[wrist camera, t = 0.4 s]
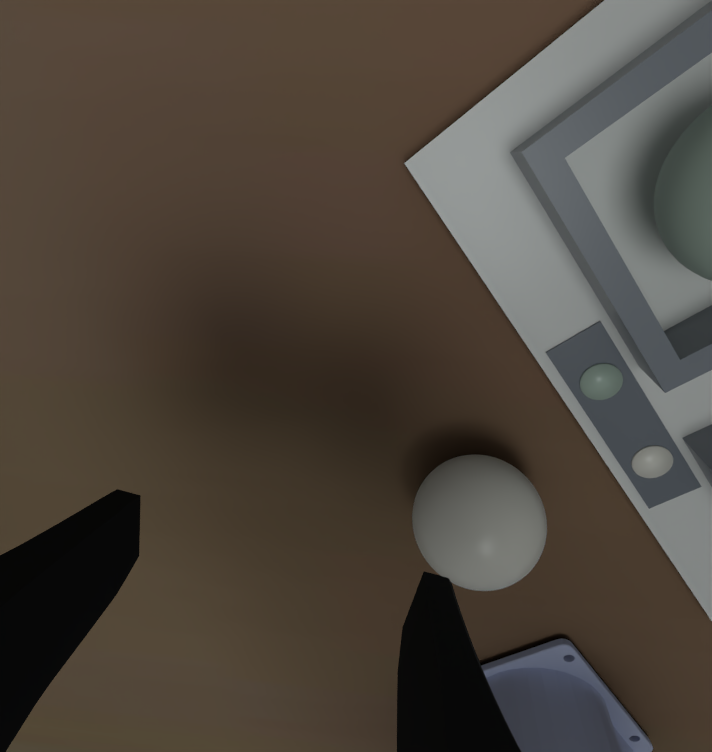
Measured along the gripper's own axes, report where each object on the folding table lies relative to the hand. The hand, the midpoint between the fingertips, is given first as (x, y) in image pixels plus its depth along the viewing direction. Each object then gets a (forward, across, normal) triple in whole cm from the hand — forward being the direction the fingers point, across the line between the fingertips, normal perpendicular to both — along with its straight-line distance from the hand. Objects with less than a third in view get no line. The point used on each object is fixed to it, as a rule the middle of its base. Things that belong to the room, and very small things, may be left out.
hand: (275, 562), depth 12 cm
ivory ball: (+7, -6, +2) cm, 9 cm away
